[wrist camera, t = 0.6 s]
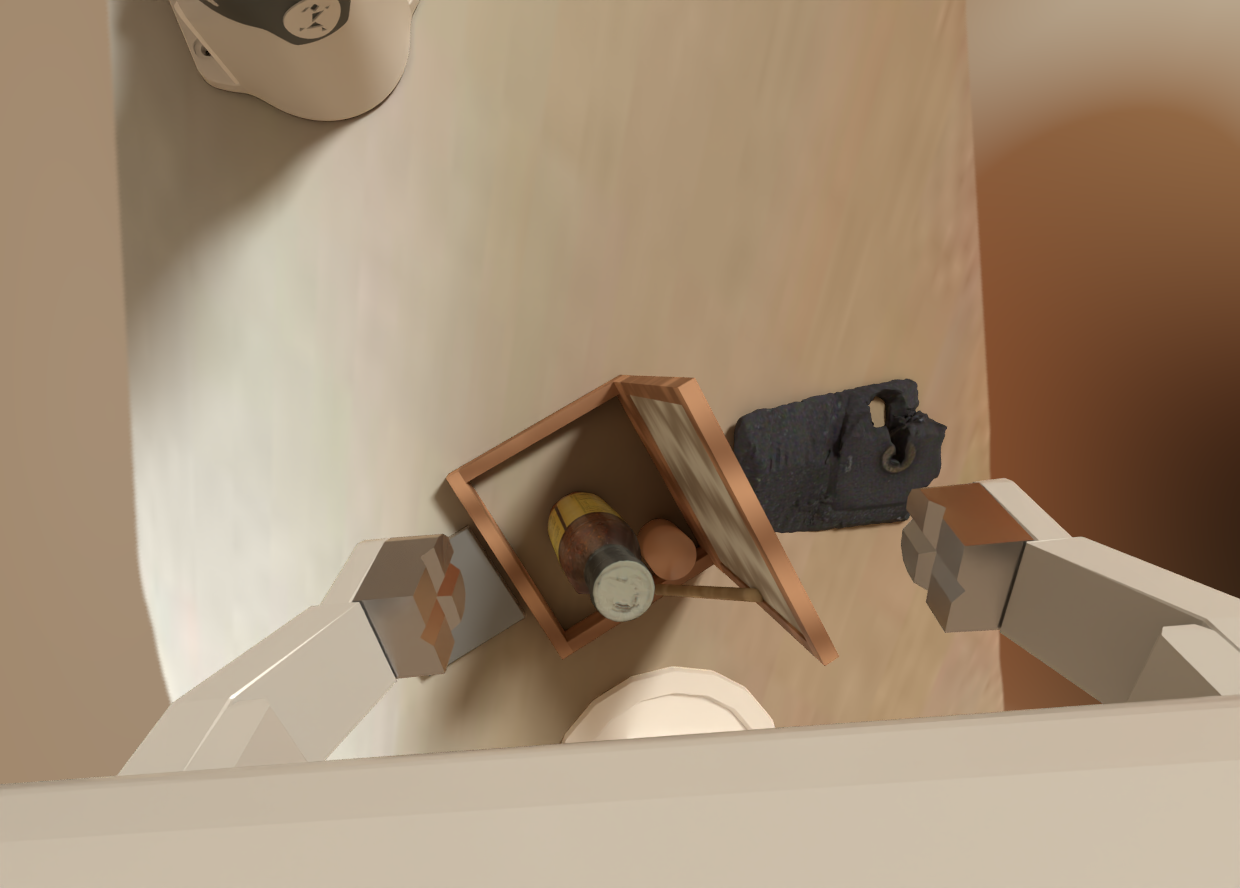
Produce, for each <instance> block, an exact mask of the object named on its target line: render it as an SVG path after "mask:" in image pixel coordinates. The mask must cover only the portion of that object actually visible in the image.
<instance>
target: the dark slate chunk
mask: <svg viewBox="0 0 1240 888" xmlns="http://www.w3.org/2000/svg"><path fill="white" fill-rule="evenodd" d="M875 396H877V397H880V398H881V399H883V400H884V402H885V404H886V421H885V426H882V427H879V428H875V427H873V426H874V423H873V422H872V418H871V413H870V407H869V406H868V405H869V404H870V402H871V401H872V400H873V398H874V397H875ZM918 405H919V400H918V390H917V383H916V382H914V381H912V380H910V379H905V380H892V381H889V382H884V383H880V384H872V385H868V386H862V387H856V388H855V389H848V390H844V391H843V392H836V393H834V394H833V393H828V394H826V395H819V396H813V397H809V398H807V399H804V400H802V401H801V402H793V403H789V404H787V405H781V406H778V407H776V408H772V409H757V410H755V411H753V412H752V413H749V414H746V415H744V416H742V417H741V418H739V420H738V421H737V423H736V428H735V432H734V454H735V456H736V458H737V460H738V462H739V464H740V466H741V468H742V470H743V472H744V474H745V476H746V478H747V480H748V481H749V483H750V485H751V487H752V489H753V491H754V493H755V495H756V497H757V499H758V501H759V503H760V505H761V507H762V509H763V510H764V512H765V514H766V516H767V518H768V520H769V522H770V524H771V526H772V528H773V530H774V532H779V533H785V532H789V533H793V532H797V531H802V532H806V531H819V530H828V529H832V528H834V527H835V528H838V529H839V528H844V527H853V526H858V525H868V524H878V523H892V522H895V521H905V520H908V518H909V516H910V514H909V512H908V511H907V509H906V505H907V500H908V496H909V494H910V492H911V490H912V489H918V488H923V487H927V486H928V485H929V484H930V483H931V481H932V480H933V479H934V478H937V477H938V475H939V473H940V469H941V445H942V442H943V439H944V437H945V430H946V429H947V427H946V426H945V425H943V424H940V423H938V422H936V421H934V420H932V419H930V418H928V415H927V414H924V413H922V412H921V411H918V412H917V413H916V411H915V409H916V408H917V407H918ZM914 412H915V415H914ZM912 415H914V416H912Z"/></svg>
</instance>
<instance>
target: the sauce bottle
mask: <svg viewBox="0 0 1240 888" xmlns="http://www.w3.org/2000/svg"><path fill="white" fill-rule="evenodd" d="M548 534H549V537H550V540H551V543H552V545H553V548H554V550H555V553H556V555H557V558H558V561H559V563H560V566H561V568H562V570H563V572H564V574H565V575H566V576H567V578H568V581H569V582H570V583H571V584H572V586H573V587H574V589H575V590H576V592H577V593H579V594H590V598H591V601H592V603H593V605H594V606H595V607H596V609H597V610H598V612H599V613H600V614H602V615H603V616H604V617H605V618H607V619H610V620H612V621H615V622H624V621H630V620H633V619H635V618H637V617H639V616H641V615H642V614H643V613H644V612H645V611H647V609H648V608H649V607H650V605H651V603H652V601H653V597H654V591H655V584H654V580H653V578H652V575H651V573H650V572H649V570H648V568H647V567H646V566H645V564H644V563H643V562H641V550H640V546H639V542H638V539H637V537H636V535H635V534H634V532H633V530H632V529H631V528H630V526H629V525H628V524H627V523H626V522H625V521H624V520H623V519H622V517H621V516H620V515H619V514H618V513H617V512H615V511H614V510H613V509H612V508H611V507H610V506H609V505H608V504H607V503H606V502H605V501H604V500H603V499H602V498H600V497H599V496H596V495H594V494H592V493H582V492H573V493H571V494H569V495H566V496H565V497H563V498H562V499H561V500H559V501H558V502H557V503H556V504H555V505H554V506H553V508H552V510H551V512H550V515H549V521H548Z"/></svg>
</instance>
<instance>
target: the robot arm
mask: <svg viewBox="0 0 1240 888" xmlns="http://www.w3.org/2000/svg"><path fill="white" fill-rule="evenodd" d="M419 1H420V0H169V2H170V4H171V7H172V9H173V12H174V14H175V17H176V19H177V21H178V24H179V26H180V29H181V31H182V33H183V36H184V38H185V41H186V43H187V46H188V48H189V50H190V53H191V55H192V58H193V60H194V62H195V65H196V67H197V69H198V71H199V73H200V74H201V75H202V77H203V78H204V79H205V81H206V82H207V83H209V84H210V85H212V86H213V87H216V88H219V89H222V90H227V91H233V92H239V93H247V94H251V95H253V96H256V97H258V98H260V99H262V100H263V101H265V102H267V103H269V104H270V105H272V106H274V107H276V108H278V109H280V110H282V111H284V112H286V113H289V114H292V115H295V116H298V117H302V118H306V119H311V120H319V121H335V120H343V119H348V118H351V117H355V116H358V115H360V114H363V113H365V112H367V111H369V110H371V109H372V108H374V107H375V106H377V105H378V104H379V103H381V102H382V101H383V100H384V99H385V98H386V97H387V96H388V95H389V94H390V93H391V92H392V91H393V89H394V88H395V87H396V85H397V83H398V82H399V80H400V78H401V76H402V74H403V72H404V69H405V67H406V64H407V60H408V55H409V50H410V30H411V19H412V15H413V13H414V11H415V9H416V7H417V5H418V3H419ZM207 50H208V52H209V53H210V54H211V56H206V51H207ZM906 509H907V511H908V512H909V514H910V515H911V517H912V518H913V519H912V520H911V521H910V522H909V523H908V524H907V525H906V526H905V527H904V528H903V531H902V540H901V549H902V556H903V561H904V564H905V567H906V569H907V572H908V573H909V575H910V577H911V579H912V580H913V582H914V583H916V584H917V585H919V586H921V587H922V588H924V589H926V590H928V593H927V599H926V603H927V605H928V606H929V608H930V609H931V611H932V613H933V614H934V616H935V617H936V619H937V621H938V622H939V624H940V625H941V627H942V629H943V630H944V632H945V633H949V632H967V631H985V630H1000V633H1002V634H1003V635H1005V636H1006V637H1008V638H1009V639H1010V640H1012V641H1014V642H1015V643H1016V644H1018V645H1019V646H1020V647H1022V648H1023V649H1025V650H1026V651H1028V652H1029V653H1031V654H1032V655H1034V656H1035V657H1036V658H1038V659H1039V660H1041V661H1042V662H1044V663H1045V664H1047V665H1048V666H1050V667H1051V668H1053V669H1054V670H1055V671H1057V672H1058V673H1060V674H1061V675H1062V676H1064V677H1065V678H1067V679H1068V680H1070V681H1071V682H1073V683H1074V684H1075V685H1077V686H1078V687H1080V688H1081V689H1083V690H1084V691H1086V692H1087V693H1089V694H1090V695H1091V696H1093V697H1094V698H1096V699H1097V700H1099V701H1100V702H1101V703H1103V704H1098V705H1084V706H1070V707H1057V708H1043V709H1031V710H1030V709H1029V710H1016V711H1002V712H988V713H975V714H961V715H947V716H933V717H919V718H905V719H892V720H878V721H864V722H850V723H836V724H822V725H808V726H794V727H781V728H767V729H753V730H740V731H726V732H712V733H699V734H685V735H671V736H657V737H644V738H630V739H616V740H603V741H589V742H575V743H562V744H548V745H534V746H520V747H507V748H493V749H479V750H466V751H452V752H438V753H425V754H411V755H397V756H383V757H370V758H356V759H342V760H328V761H325V760H326V759H327V758H328V756H329V755H330V754H331V753H332V752H333V751H334V750H335V749H336V748H337V747H338V745H339V744H340V743H341V742H342V741H343V740H344V739H345V738H346V737H347V736H348V734H349V733H350V732H351V731H352V730H353V729H354V728H355V727H356V726H357V725H358V723H359V722H360V721H361V720H362V719H363V718H364V717H365V716H366V715H367V714H368V712H369V711H370V710H371V709H372V708H373V707H374V706H375V705H376V704H377V703H378V701H379V700H380V699H381V698H382V697H383V696H384V695H385V694H386V693H387V692H388V690H389V689H390V688H391V687H392V686H393V685H394V684H395V683H396V682H397V680H396V679H398V678H407V677H416V676H425V675H434V674H444V673H445V671H446V668H447V665H448V662H449V659H450V656H451V652H452V649H453V646H454V643H455V641H454V638H453V636H452V633H451V631H452V630H453V629H454V628H455V627H456V626H457V625H458V624H459V623H460V622H461V620H462V617H463V613H464V610H465V595H466V592H465V586H464V580H463V577H462V574H461V571H460V570H459V569H458V568H457V567H455V566H454V565H453V564H451V563H450V561H451V558H452V555H453V552H454V550H453V548H452V545H451V543H450V540H449V538H448V537H447V536H446V535H444V534H435V535H421V536H408V537H394V538H390V539H388V538H384V539H373V540H364V541H362V542H360V543H358V544H357V545H356V547H355V548H354V550H353V551H352V553H351V555H350V556H349V558H348V560H347V561H346V563H345V565H344V566H343V568H342V570H341V571H340V573H339V574H338V576H337V578H336V579H335V581H334V583H333V584H332V586H331V588H330V589H329V591H328V593H327V594H326V596H325V597H324V599H323V601H322V602H321V604H320V605H318V606H311V607H309V608H308V609H306V610H305V611H304V612H302V613H301V614H299V615H298V616H296V617H295V618H293V619H292V620H291V621H289V622H288V623H286V624H285V625H283V626H282V627H281V628H279V629H278V630H276V631H275V632H273V633H272V634H271V635H269V636H268V637H266V638H265V639H263V640H262V641H260V642H259V643H258V644H256V645H255V646H253V647H252V648H250V649H249V650H248V651H246V652H245V653H243V654H242V655H240V656H239V657H238V658H236V659H235V660H233V661H232V662H230V663H229V664H228V665H226V666H225V667H223V668H222V669H220V670H219V671H217V672H216V673H215V674H213V675H212V676H210V677H209V678H207V679H206V680H205V681H203V682H202V683H200V684H199V685H197V686H196V687H195V688H193V689H192V690H190V691H189V692H187V693H186V694H185V695H183V696H182V697H180V698H179V699H177V700H176V701H174V702H173V703H172V704H171V705H170V706H169V707H168V709H167V710H166V711H165V713H164V714H163V715H162V717H161V718H160V719H159V721H158V722H157V723H156V725H155V726H154V727H153V729H152V730H151V731H150V733H149V734H148V735H147V737H146V738H145V739H144V741H143V742H142V743H141V745H140V746H139V747H138V748H137V750H136V751H135V752H134V754H133V755H132V757H131V758H130V759H129V761H128V762H127V763H126V764H125V766H124V767H123V769H122V770H121V771H120V772H119V774H118V775H117V776H109V777H95V778H84V779H83V778H82V779H69V780H54V781H40V782H27V783H13V784H1V785H0V888H1240V599H1238V598H1235V597H1233V596H1230V595H1228V594H1225V593H1223V592H1220V591H1218V590H1215V589H1213V588H1210V587H1208V586H1205V585H1203V584H1200V583H1198V582H1195V581H1193V580H1190V579H1188V578H1185V577H1183V576H1180V575H1177V574H1175V573H1172V572H1170V571H1167V570H1165V569H1162V568H1160V567H1157V566H1154V565H1152V564H1150V563H1147V562H1145V561H1142V560H1140V559H1137V558H1135V557H1132V556H1129V555H1127V554H1124V553H1122V552H1119V551H1117V550H1114V549H1112V548H1109V547H1107V546H1104V545H1102V544H1099V543H1097V542H1094V541H1092V540H1089V539H1087V538H1084V537H1074V538H1072V537H1071V536H1070V535H1069V534H1068V533H1067V532H1066V531H1065V530H1064V529H1063V528H1061V527H1060V526H1059V525H1058V524H1057V523H1056V522H1055V521H1054V520H1053V519H1052V518H1051V517H1050V516H1049V515H1048V514H1047V513H1046V512H1045V511H1044V510H1043V509H1041V508H1040V507H1039V506H1038V505H1037V504H1036V503H1035V502H1034V501H1033V500H1032V499H1031V498H1030V497H1029V496H1028V495H1027V494H1026V493H1025V492H1024V491H1022V490H1021V489H1020V488H1019V487H1018V486H1017V485H1016V484H1015V483H1014V482H1013V481H1011V480H1008V479H1005V478H1001V479H993V480H985V481H977V482H973V483H968V484H958V485H948V486H938V487H928V488H918V489H912V490H911V492H910V494H909V496H908V500H907V505H906Z"/></svg>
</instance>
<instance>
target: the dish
mask: <svg viewBox="0 0 1240 888" xmlns="http://www.w3.org/2000/svg"><path fill="white" fill-rule="evenodd" d="M767 728H775V726H774V723H773V720H772V718H771V717H770V716H769V715H768V713H767V712H766V711H765V710H764V709H763V707H762V706H761V705H760V704H759V703H758V701H757V700H756V699H755V698H754V697H753V696H752V694H751V693H750V692H749V691H748V690H747V688H746V687H744V686H742V685H740V684H738V683H736V682H734V681H732V680H730V679H728V678H726V677H725V676H723V675H721V674H719V673H717V672H715V671H713V670H705V669H695V668H685V667H674V666H672V667H668V668H664V669H659V670H655V671H651V672H647V673H643V674H639V675H635V676H631V677H629V678H628V679H626V680H625V681H623V682H621V683H620V684H618V685H617V686H615V687H613V688H612V689H610V690H609V691H607V692H606V693H604V694H602V695H601V696H599V697H598V698H596V699H594V700H593V701H592V702H591V704H590V705H589V706H588V707H587V708H586V709H585V711H584V712H583V713H582V714H581V715H580V717H579V718H578V719H577V720H576V721H575V723H574V724H573V725H572V726H571V727H570V729H569V730H568V731H567V732H566V733H565V735H564V738H563V740H562V743H575V742H589V741H603V740H616V739H630V738H644V737H657V736H671V735H685V734H699V733H712V732H726V731H740V730H753V729H767ZM562 743H561V744H562Z"/></svg>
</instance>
